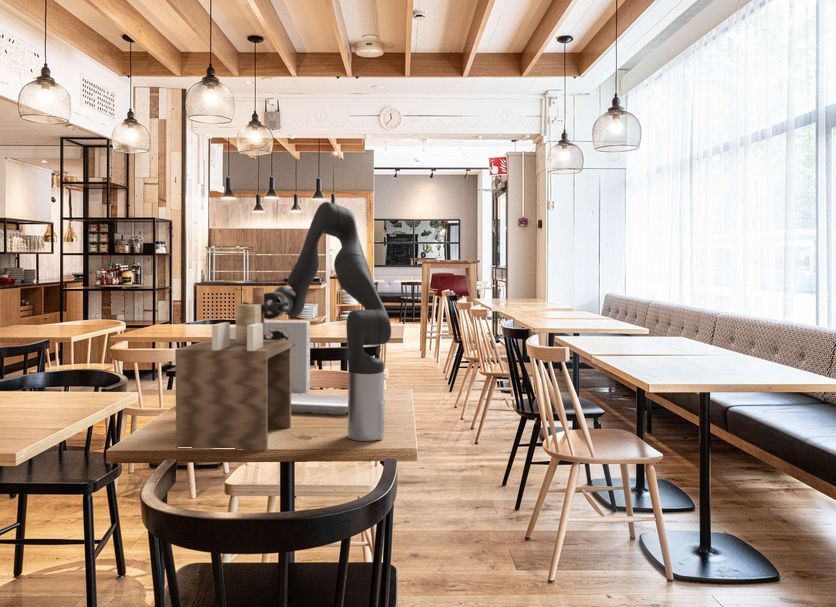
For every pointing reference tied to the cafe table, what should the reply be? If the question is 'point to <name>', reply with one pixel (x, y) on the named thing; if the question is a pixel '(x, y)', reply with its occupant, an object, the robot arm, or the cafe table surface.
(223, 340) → the upright cream panels
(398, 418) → the cafe table surface
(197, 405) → the open wooden cabinet
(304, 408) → the tray
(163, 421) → the cafe table surface
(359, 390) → the robot arm
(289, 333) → the cereal box
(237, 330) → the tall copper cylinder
